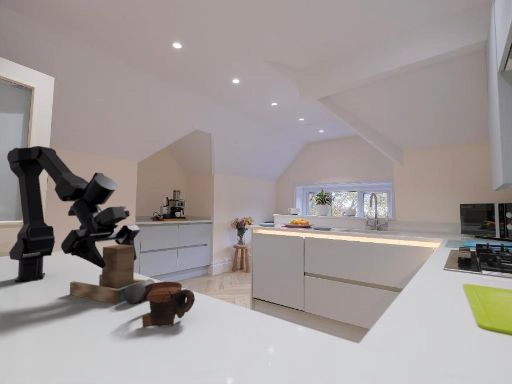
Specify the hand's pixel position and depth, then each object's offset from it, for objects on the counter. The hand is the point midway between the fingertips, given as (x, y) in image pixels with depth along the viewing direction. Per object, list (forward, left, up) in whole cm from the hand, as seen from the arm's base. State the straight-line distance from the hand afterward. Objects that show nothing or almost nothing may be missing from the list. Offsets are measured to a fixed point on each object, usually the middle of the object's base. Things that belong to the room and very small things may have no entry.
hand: (120, 263), depth 68 cm
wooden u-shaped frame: (-1, -1, -8) cm, 8 cm away
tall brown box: (-1, 0, -8) cm, 8 cm away
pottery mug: (+19, +6, -8) cm, 22 cm away
